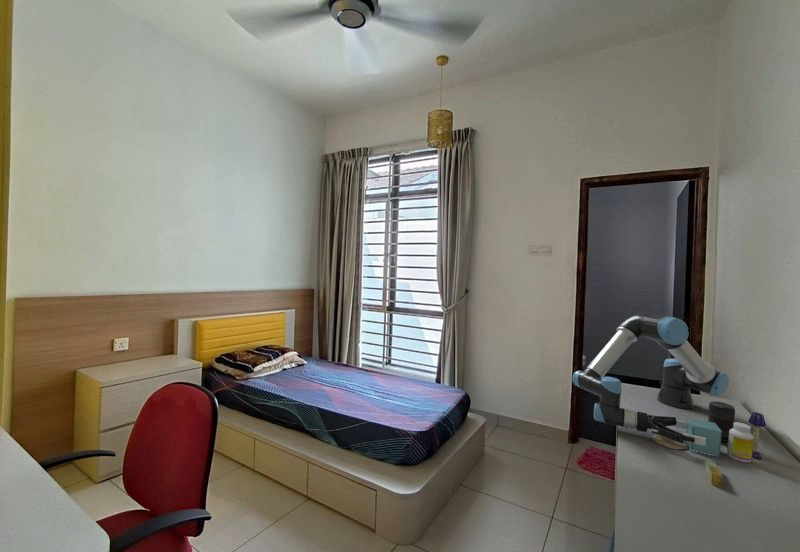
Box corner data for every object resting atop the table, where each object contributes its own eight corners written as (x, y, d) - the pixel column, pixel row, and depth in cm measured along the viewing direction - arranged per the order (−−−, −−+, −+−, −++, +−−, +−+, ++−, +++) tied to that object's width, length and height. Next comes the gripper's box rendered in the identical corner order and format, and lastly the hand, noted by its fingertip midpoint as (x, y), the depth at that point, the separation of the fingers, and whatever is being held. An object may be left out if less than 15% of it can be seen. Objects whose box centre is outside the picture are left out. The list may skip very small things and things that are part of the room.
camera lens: (700, 434, 152) (704, 400, 151) (720, 436, 152) (723, 401, 151) (717, 444, 144) (720, 408, 143) (737, 446, 144) (741, 409, 143)
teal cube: (685, 441, 145) (687, 417, 145) (712, 447, 141) (715, 422, 141) (690, 450, 138) (693, 425, 137) (719, 457, 134) (722, 431, 133)
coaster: (658, 433, 151) (658, 432, 151) (691, 444, 143) (691, 443, 143) (649, 440, 145) (649, 439, 144) (682, 453, 136) (682, 451, 136)
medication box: (703, 467, 127) (704, 456, 127) (713, 470, 125) (714, 458, 125) (711, 485, 117) (712, 473, 116) (722, 488, 115) (723, 476, 115)
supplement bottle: (756, 464, 130) (759, 430, 129) (735, 461, 131) (738, 427, 131) (742, 454, 137) (745, 422, 136) (722, 452, 138) (725, 419, 137)
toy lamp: (764, 461, 133) (768, 417, 132) (747, 457, 135) (751, 414, 134) (759, 455, 137) (763, 412, 136) (743, 451, 139) (747, 409, 138)
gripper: (632, 418, 161) (692, 431, 150) (638, 441, 139) (708, 458, 129) (633, 401, 160) (693, 413, 150) (639, 423, 138) (710, 438, 128)
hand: (700, 434), depth 139 cm, fingers open, 13 cm apart
